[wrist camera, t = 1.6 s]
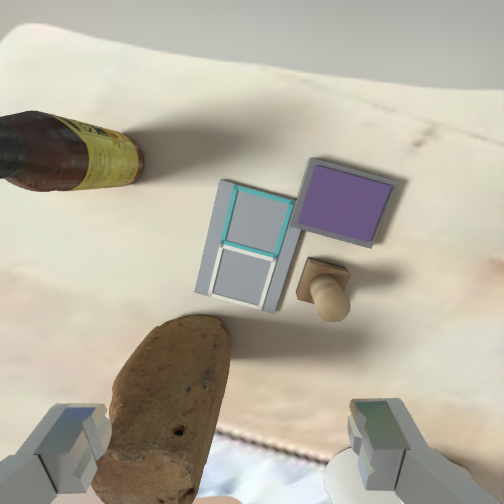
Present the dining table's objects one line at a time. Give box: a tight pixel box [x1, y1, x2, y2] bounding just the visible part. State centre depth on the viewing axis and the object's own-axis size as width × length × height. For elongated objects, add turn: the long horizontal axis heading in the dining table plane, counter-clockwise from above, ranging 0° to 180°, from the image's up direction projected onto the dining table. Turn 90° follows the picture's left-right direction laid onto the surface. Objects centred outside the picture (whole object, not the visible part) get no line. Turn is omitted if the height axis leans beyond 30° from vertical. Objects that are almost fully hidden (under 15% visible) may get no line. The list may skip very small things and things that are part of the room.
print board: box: [195, 180, 301, 314], centre depth 35 cm, size 11×15×1 cm
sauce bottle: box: [0, 111, 144, 192], centre depth 24 cm, size 6×6×20 cm
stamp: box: [296, 257, 350, 322], centre depth 33 cm, size 5×5×8 cm
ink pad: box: [290, 158, 398, 248], centre depth 33 cm, size 10×8×2 cm
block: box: [90, 316, 230, 504], centre depth 30 cm, size 11×8×20 cm
